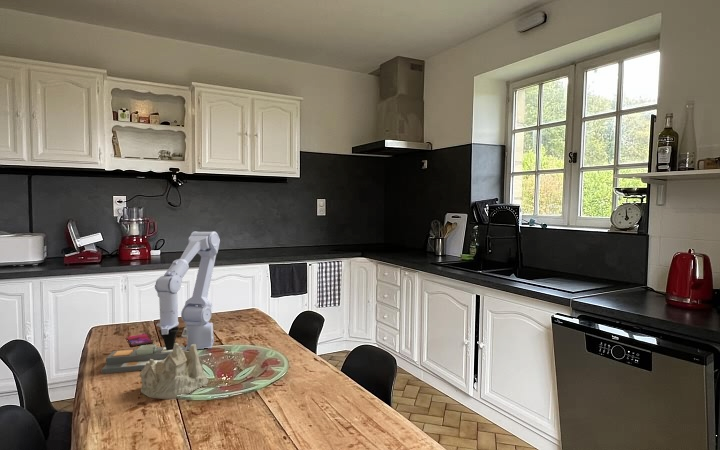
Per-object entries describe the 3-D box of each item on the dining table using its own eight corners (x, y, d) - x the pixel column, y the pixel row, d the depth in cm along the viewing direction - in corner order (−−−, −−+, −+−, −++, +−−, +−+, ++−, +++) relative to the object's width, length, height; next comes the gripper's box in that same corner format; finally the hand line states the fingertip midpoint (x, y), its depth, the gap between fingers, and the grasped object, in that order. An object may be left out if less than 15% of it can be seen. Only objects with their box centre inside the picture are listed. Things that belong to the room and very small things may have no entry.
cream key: (179, 351, 155) (179, 346, 155) (176, 356, 150) (176, 350, 150) (164, 353, 154) (164, 347, 154) (160, 357, 149) (160, 352, 149)
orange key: (133, 355, 152) (133, 349, 152) (128, 360, 147) (128, 354, 147) (117, 356, 151) (117, 351, 151) (112, 361, 146) (112, 355, 146)
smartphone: (146, 333, 183) (153, 342, 171) (146, 335, 183) (153, 344, 171) (125, 337, 179) (131, 345, 166) (125, 339, 179) (131, 348, 166)
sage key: (156, 350, 153) (156, 344, 153) (152, 354, 148) (152, 348, 148) (141, 351, 152) (140, 345, 152) (136, 356, 147) (136, 350, 147)
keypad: (186, 351, 161) (186, 341, 160) (178, 367, 145) (177, 356, 145) (118, 357, 156) (117, 347, 156) (101, 373, 140) (101, 362, 140)
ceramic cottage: (215, 381, 132) (210, 332, 131) (168, 405, 118) (162, 350, 117) (182, 375, 140) (177, 329, 139) (133, 397, 126) (127, 346, 125)
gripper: (161, 306, 157) (162, 343, 158) (150, 316, 143) (152, 357, 144) (182, 305, 159) (183, 342, 159) (173, 314, 145) (175, 355, 145)
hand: (170, 349), depth 152 cm, fingers closed, pressing on cream key
